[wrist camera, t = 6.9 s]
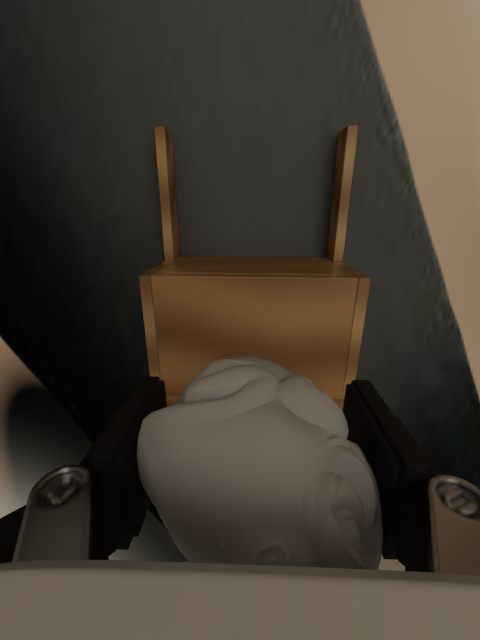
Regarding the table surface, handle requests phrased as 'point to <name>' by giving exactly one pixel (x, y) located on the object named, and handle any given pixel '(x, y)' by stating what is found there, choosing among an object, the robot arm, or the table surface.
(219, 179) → the table surface
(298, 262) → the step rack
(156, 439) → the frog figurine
